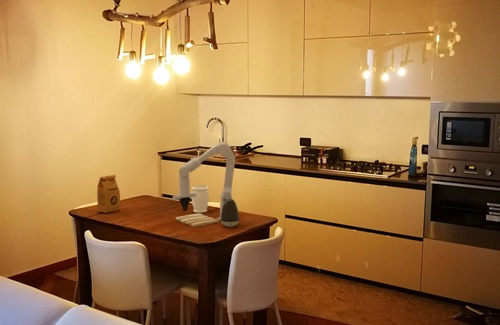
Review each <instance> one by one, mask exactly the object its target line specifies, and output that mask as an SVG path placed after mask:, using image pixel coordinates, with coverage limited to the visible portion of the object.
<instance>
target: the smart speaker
mask: <svg viewBox="0 0 500 325" xmlns="http://www.w3.org/2000/svg"><path fill="white" fill-rule="evenodd" d="M224 201H225V203H224V205H223V208H222V211H221V220H220V222H221V224H222V225H223V226H224V227H226V228H234V227H236V226H237V225H238V224H239V222H240V212H239V208H238V205H237V203H236V201H235V199H233V198H232V199H227V200H226V199H224Z"/></svg>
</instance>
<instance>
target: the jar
mask: <svg viewBox="0 0 500 325" xmlns="http://www.w3.org/2000/svg"><path fill="white" fill-rule="evenodd" d="M209 187H210V186H206V185H195V186H191V188H190V189H191V190H192V191H191V193H196V197H191V203H192V207H193V212H194V213H196V214H197V213H200V214H202V213H206V212H208V209H207V208H208V206H209V199H210V194H209Z"/></svg>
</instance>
